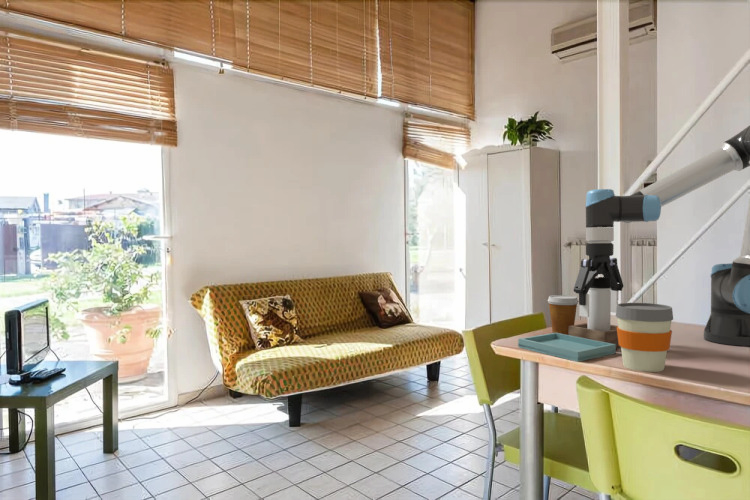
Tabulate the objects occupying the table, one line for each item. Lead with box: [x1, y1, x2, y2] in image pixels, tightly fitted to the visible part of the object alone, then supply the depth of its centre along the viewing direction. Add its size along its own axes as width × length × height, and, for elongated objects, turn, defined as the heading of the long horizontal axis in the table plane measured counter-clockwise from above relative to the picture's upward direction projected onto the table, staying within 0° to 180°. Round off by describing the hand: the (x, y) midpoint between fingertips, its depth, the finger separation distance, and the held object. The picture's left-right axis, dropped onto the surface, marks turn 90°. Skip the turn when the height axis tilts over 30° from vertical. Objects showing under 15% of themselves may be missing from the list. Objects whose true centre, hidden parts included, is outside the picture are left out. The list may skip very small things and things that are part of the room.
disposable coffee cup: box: [547, 294, 579, 335], centre depth 169 cm, size 10×10×12 cm
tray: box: [517, 332, 617, 362], centre depth 146 cm, size 20×16×2 cm
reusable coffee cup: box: [615, 302, 674, 373], centre depth 127 cm, size 13×12×15 cm
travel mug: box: [586, 276, 612, 331], centre depth 153 cm, size 6×7×20 cm
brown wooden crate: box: [569, 322, 621, 349], centre depth 153 cm, size 12×12×5 cm
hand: (599, 314), depth 153 cm, fingers open, 13 cm apart
